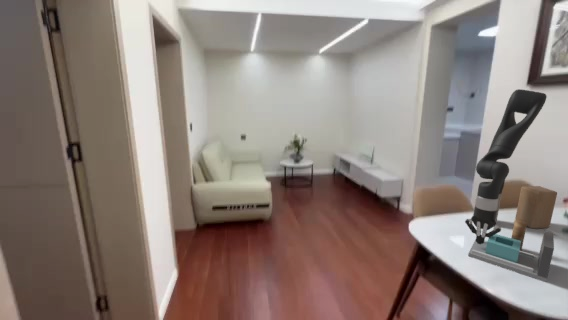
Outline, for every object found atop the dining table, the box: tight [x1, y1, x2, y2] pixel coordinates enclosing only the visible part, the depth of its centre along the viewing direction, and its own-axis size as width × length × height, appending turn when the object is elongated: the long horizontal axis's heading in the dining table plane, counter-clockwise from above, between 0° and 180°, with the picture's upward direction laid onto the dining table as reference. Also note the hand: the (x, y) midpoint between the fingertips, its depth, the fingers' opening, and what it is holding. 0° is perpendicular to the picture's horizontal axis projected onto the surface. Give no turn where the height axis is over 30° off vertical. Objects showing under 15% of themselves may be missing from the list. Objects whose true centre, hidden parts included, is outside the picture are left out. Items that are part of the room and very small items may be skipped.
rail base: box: [467, 230, 555, 283], centre depth 107 cm, size 24×16×14 cm
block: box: [514, 185, 558, 229], centre depth 135 cm, size 10×10×20 cm
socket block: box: [485, 233, 521, 263], centre depth 108 cm, size 10×10×6 cm
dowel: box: [511, 219, 528, 251], centre depth 114 cm, size 4×4×13 cm
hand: (479, 243), depth 114 cm, fingers closed
